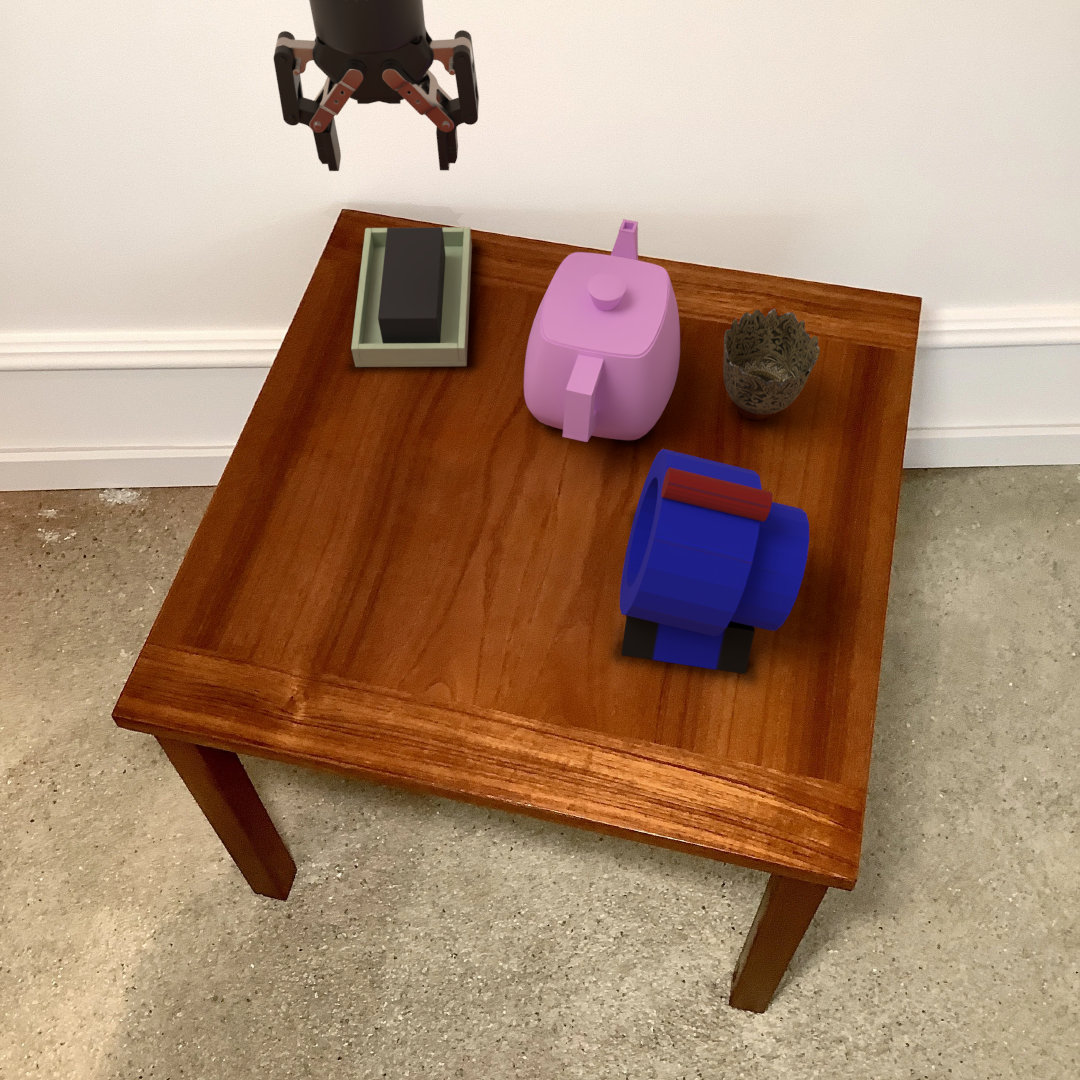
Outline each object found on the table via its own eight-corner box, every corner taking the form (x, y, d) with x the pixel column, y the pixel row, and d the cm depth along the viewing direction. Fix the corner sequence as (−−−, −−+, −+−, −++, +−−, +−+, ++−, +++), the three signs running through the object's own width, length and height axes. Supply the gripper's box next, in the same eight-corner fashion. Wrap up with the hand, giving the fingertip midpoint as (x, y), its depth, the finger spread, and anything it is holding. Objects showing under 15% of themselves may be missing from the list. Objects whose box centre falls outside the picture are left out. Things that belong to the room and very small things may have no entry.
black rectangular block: (391, 256, 101) (386, 227, 98) (445, 255, 101) (442, 227, 98) (383, 346, 95) (377, 318, 92) (440, 345, 95) (436, 318, 92)
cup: (816, 426, 91) (837, 362, 84) (737, 453, 90) (752, 390, 83) (773, 362, 95) (790, 297, 88) (697, 387, 93) (708, 322, 87)
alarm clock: (631, 515, 87) (645, 395, 74) (787, 537, 85) (829, 419, 73) (610, 653, 80) (621, 548, 68) (778, 678, 79) (822, 576, 66)
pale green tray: (355, 367, 95) (350, 348, 93) (369, 247, 103) (365, 227, 101) (466, 366, 95) (464, 347, 93) (471, 246, 103) (470, 226, 101)
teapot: (650, 497, 88) (664, 397, 77) (500, 467, 89) (493, 365, 78) (693, 317, 98) (710, 205, 87) (558, 293, 99) (558, 181, 88)
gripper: (471, -73, 73) (483, 132, 87) (258, -73, 73) (303, 133, 87) (467, -8, 69) (480, 196, 83) (242, -8, 69) (292, 197, 83)
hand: (390, 164), depth 85 cm, fingers open, 8 cm apart
